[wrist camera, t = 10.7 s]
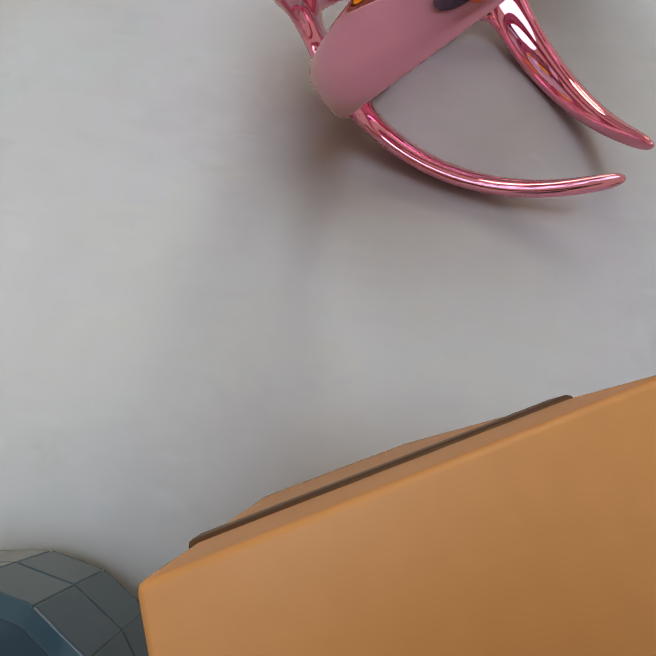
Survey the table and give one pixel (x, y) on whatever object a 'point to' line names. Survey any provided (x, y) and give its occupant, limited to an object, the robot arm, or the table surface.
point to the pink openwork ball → (419, 44)
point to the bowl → (65, 608)
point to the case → (440, 548)
